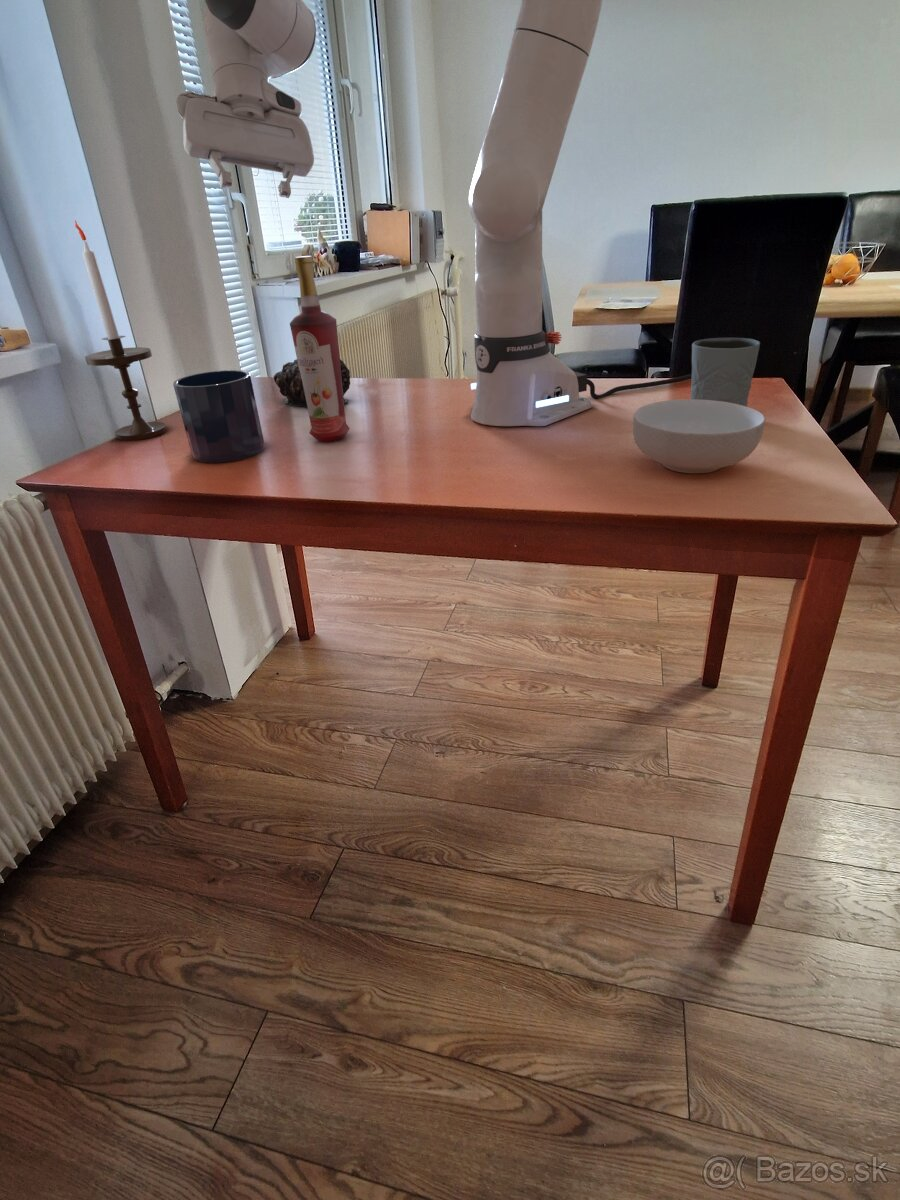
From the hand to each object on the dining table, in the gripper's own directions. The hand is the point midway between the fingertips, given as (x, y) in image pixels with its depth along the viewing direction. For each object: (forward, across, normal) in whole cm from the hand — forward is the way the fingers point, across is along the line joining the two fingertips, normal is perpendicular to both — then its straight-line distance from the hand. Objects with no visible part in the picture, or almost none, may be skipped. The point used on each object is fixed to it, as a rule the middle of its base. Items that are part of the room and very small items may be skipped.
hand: (256, 191), depth 107 cm
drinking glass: (+46, +63, -31) cm, 84 cm away
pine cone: (+26, +14, +27) cm, 40 cm away
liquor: (+39, +8, +4) cm, 40 cm away
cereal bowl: (+55, +43, -42) cm, 81 cm away
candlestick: (+31, -19, +31) cm, 48 cm away
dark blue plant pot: (+40, -8, +9) cm, 41 cm away
